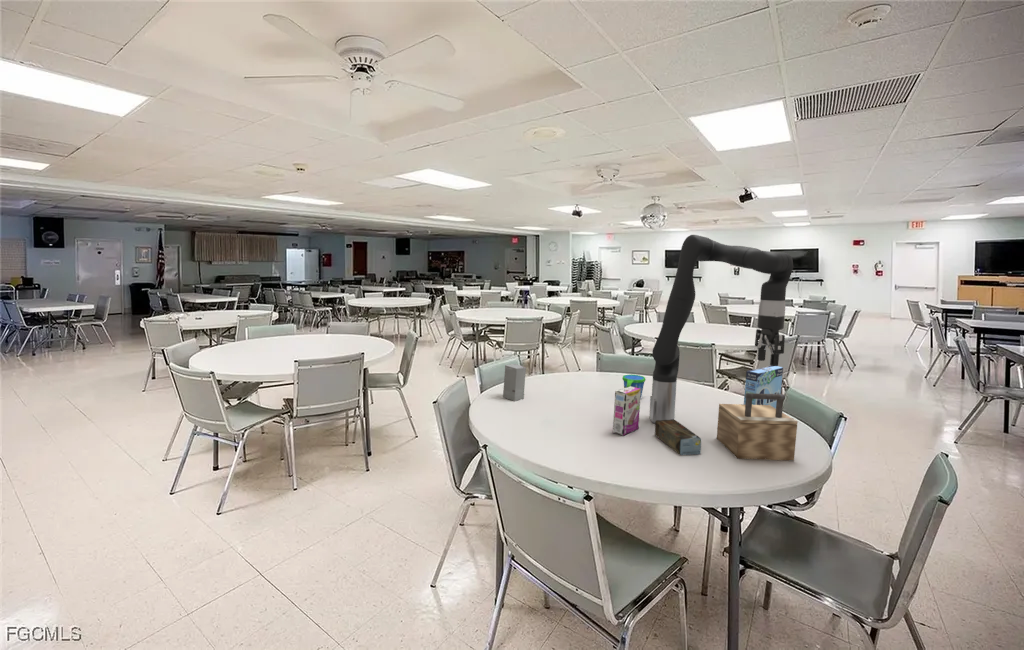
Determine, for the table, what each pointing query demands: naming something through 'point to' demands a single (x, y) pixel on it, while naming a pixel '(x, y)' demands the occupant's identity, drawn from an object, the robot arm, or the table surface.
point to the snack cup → (634, 381)
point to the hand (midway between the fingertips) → (767, 363)
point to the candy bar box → (626, 410)
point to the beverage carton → (678, 437)
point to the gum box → (764, 383)
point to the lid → (759, 410)
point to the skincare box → (514, 382)
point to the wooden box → (756, 439)
